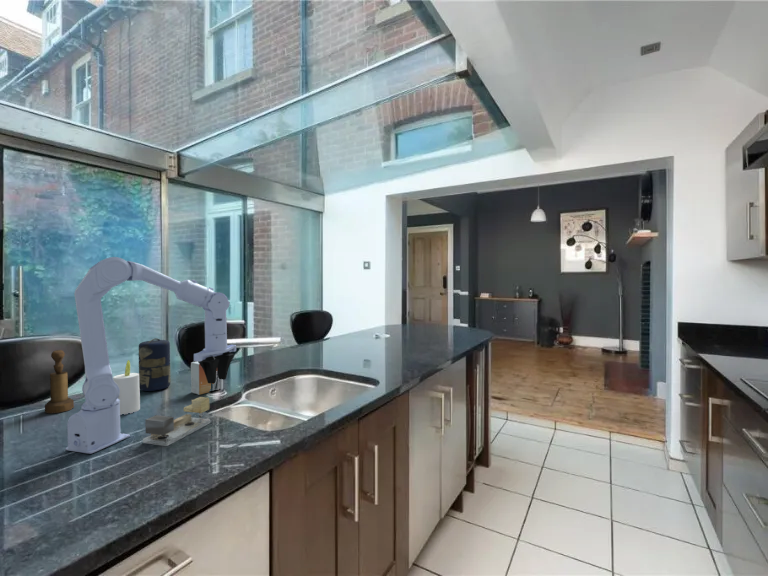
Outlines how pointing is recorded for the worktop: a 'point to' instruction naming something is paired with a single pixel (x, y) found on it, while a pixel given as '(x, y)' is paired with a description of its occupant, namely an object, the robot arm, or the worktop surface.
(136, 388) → the candle
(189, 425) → the bolt plate
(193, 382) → the small box
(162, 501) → the worktop surface
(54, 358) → the brown tall knobbed cylinder
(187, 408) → the sliding leg
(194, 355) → the robot arm
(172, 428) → the grey blocky hammer
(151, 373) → the canister
